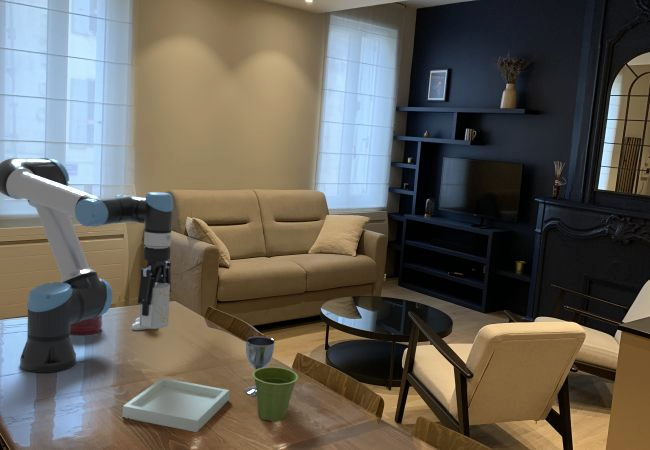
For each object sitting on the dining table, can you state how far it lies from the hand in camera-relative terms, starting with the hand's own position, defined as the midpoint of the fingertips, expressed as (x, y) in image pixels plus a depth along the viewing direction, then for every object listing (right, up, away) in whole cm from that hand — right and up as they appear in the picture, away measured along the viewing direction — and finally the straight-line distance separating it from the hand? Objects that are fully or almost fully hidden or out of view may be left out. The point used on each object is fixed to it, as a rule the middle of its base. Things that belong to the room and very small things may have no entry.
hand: (153, 321), depth 184 cm
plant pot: (+37, -22, -20) cm, 47 cm away
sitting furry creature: (-15, -9, +42) cm, 46 cm away
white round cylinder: (0, -1, 0) cm, 1 cm away
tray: (+12, -19, -21) cm, 31 cm away
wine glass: (+31, -19, -6) cm, 37 cm away
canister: (-34, -8, +34) cm, 49 cm away
